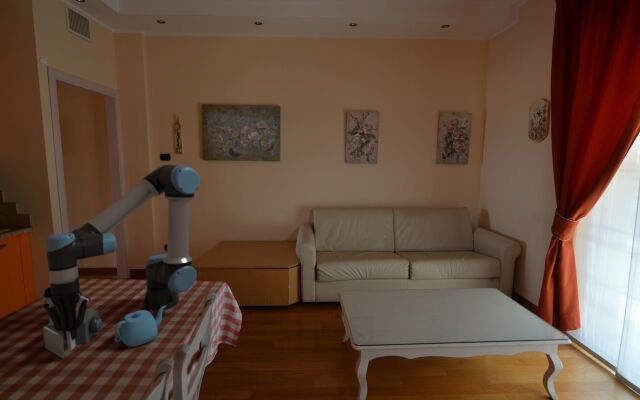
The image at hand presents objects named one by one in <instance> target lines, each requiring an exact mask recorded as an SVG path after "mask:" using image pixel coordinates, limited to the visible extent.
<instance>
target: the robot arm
mask: <svg viewBox="0 0 640 400" xmlns="http://www.w3.org/2000/svg"><path fill="white" fill-rule="evenodd" d="M200 184H201V179H200V176H199V174H198V172H197V171H196V170H195V169H194V168H193V167H190V166H186V165H176V164H175V165H173V164H164V165H161V166H159V167H157V168H156V169H153V171H151V172H149V173H148V174H147V175H146V176H145V177H143V178H142V179H141V180H140V183H139V184H138V185H137V186H134V188H132V189H131V190H130V191H129V192H127V193H125V194H124V195H123V196H122V197H120V198H118V200H116V201H115V202H113V203H112V204H111V205H109V206H108V207H107V208H105V209H104V210H102V211H101V212H100V213H98V214H97V215H96V216H95V217H93V218H92V219H91V220H89V221H87V223H85V224H83V225H82V226H80V227H75V228H72V229H71V230H69V232H64V233H55V234H50V235H48V236H47V237H46V238H45V253H46V258H47V259H46V260H47V266H48V267H47V269H48V277H49V278H48V279H49V282H50V284H49V287H50V288H51V294H52V297H51V301H49V302H47V303H45V304H43V308H44V309H45V310H46V312H47V311H48V312H47V314H48V313H49V315H50V318H51V320H52V322H53V324H54V326H55V329H56V330H57V331H59V330H62V331H63V333H64V339H65V340H67V343H68V345H67V349H68V351H69V352H70V351H72V350H73V349H74V348H75V347H76V344H75V338H76V337H77V328H79V327H80V326H81V325H82V324H83V321H84V316H85V311H87V310H86V309H87V305H88V303H89V302H90V301H91V298H90V297H84V296H83V294H82V292H81V291H80V289H81V286H80V278H79V269H78V261H79V260H80V261H81V260H84V259H90V258H93V257H94V258H95V257H99V256H106V255H109V254H112V253H114V252H116V250H117V247H118V243H117V239H116V236H115V235H114V234H113V233H112V232H110V231H112V230H114V228H116V227H117V226H118V225H119V224H121V223H122V222H123V221H124V220H126V219H127V218H128V217H130V216H131V215H132V214H133V213H135V212H136V211H137V210H138V209H140V208H141V207H143V206H144V204H146V203H147V202H149V201H150V200H151V199H152V198H158V197H160V195H162V194H164V198H165V199H166V200H167V201H168V203H167V204H168V206H167V208H168V210H167V243H166V245H167V246H166V253H161V254H155V255H152V256H149V257H147V258H146V260H145V276H146V291H145V294H144V298H143V301H142V308H143V309H144V310H146V311H152V312H153V311H155V312H156V311H159V309H160V308H161V307H163V306H165V305H167V306H166V307H165V308H164V309H163V311H164V310H168V309H170V308H174V307H175V306H177V305H178V304H179V303H180V295H179V293H184V292H186V291H188V290H189V289H191V288H192V286H193V285H194V284H195V283H196V281H197V276H198V274H197V273H198V272H197V271H196V269H195V267H193V258H192V257H191V256H190V253H189V251H190V250H189V248H190V222H191V220H190V218H191V217H190V216H191V201H192V200H193V199H195V193H196V192H197V190H199V189H200V186H201V185H200ZM78 303H79V307H78V310H77V304H78ZM55 305H56V306H57V307H58V311H59V312H60V315H59V313H58V311H57V308H56V306H55ZM76 311H78V316H77V317H76Z"/></svg>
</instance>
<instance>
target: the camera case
mask: <svg viewBox="0 0 640 400" xmlns="http://www.w3.org/2000/svg"><path fill="white" fill-rule="evenodd" d="M78 311H79V310H76V317H77V316H78ZM99 315H100V314H99V309H97V310H94V309H93V310H86V311H85V316H84V321H83V324H82V325H81V326H80V327H79V328H77V337H76V338H75V344H76V345H85V344H88V343H89V341H90V340H91V339H92V338H93V337H94V336H95V335H96V334H98V333H99V332H100V331H101V329H102V326H103V321H102V320H103V319H102V317H101V316H99ZM46 327H48V328H49V329H51V330H53V331H55V332H56V333H58V334H60V335H62V336H63V343H64V346H68V343H67V340H65V339H64V333H63V331H62V330H59V331H57V330H56V329H55V326H54V324H53V322H52V321H51V322H49V323H48V324H46Z"/></svg>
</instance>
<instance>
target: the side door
mask: <svg viewBox="0 0 640 400" xmlns="http://www.w3.org/2000/svg"><path fill="white" fill-rule="evenodd" d="M42 335H43V337H42V338H43V347H44V349H46V350H48V351H50V352H51V353H53V354H54V355H57V356H58V357H59V358H61V359H63V358H65V345H64V343H63V336H62V335H60V334H58V333H56V332H55V331H53V330H51V329H49V328H48V327H47V325H45V326H42Z"/></svg>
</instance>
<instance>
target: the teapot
mask: <svg viewBox="0 0 640 400" xmlns="http://www.w3.org/2000/svg"><path fill="white" fill-rule="evenodd" d="M166 306H167V305H165V306H163V307H161V308H160V309H159V310H158V312H157V316H156V317H155V318H154V315H152V313H151V312H150V311H149V310H146V309H144V310H143V309H142V310H136V311H134V312H131V313H128V314H126V315H125V316H124V318H123V320H122V321H119V322H118V323H116V325H115V326H114V330H115V333H116V336H115V337H114V342H116V343H120V342H122V343H123V344H124V345H126V346H127V347H132V348H133V347H139V346H140V345H144V344H146V343H150V342H151V341H153V340H155V339H156V337H157V335H158V327H159V326H160V324H161V323H162V319H163V311H164V310H165V309H164V308H165V307H166ZM163 309H164V310H163ZM119 327H120V329H119Z"/></svg>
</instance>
